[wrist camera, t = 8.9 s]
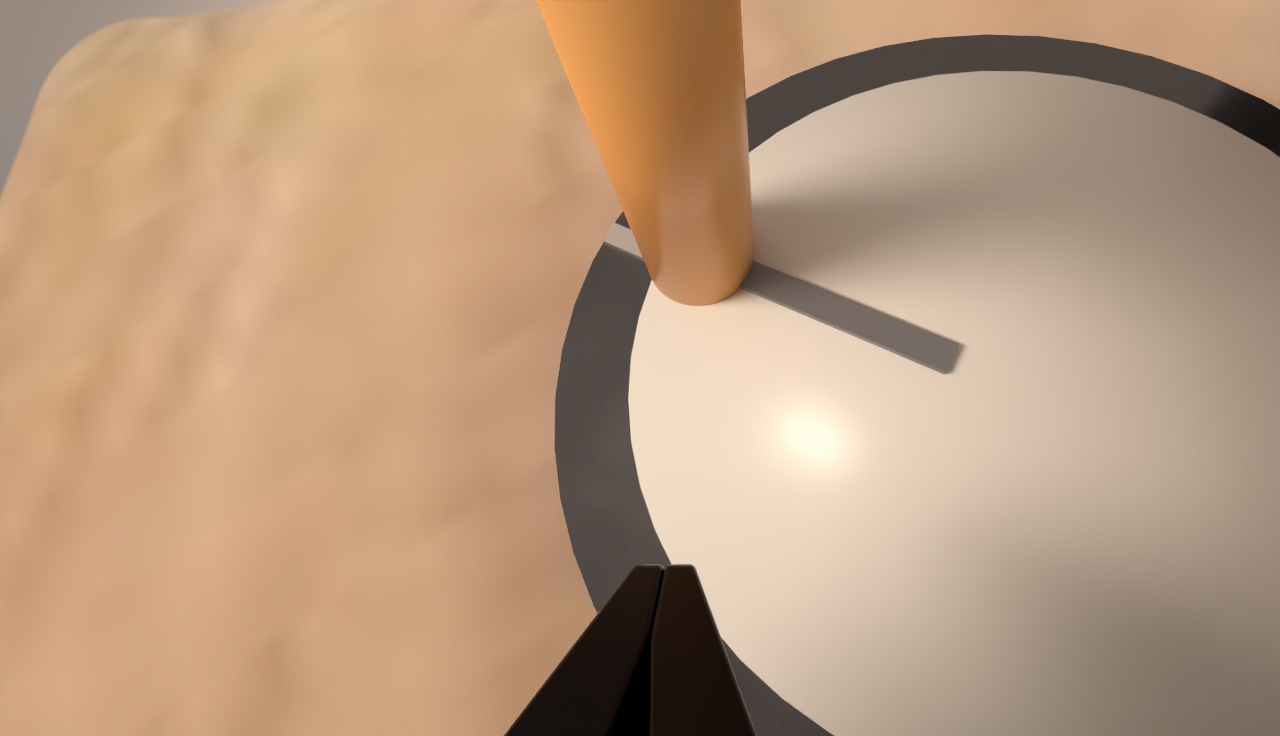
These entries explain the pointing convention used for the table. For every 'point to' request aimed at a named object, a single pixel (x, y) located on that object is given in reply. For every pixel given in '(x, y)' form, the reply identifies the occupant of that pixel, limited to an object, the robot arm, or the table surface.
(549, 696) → the robot arm
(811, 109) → the dial plate
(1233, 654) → the dial
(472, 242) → the table surface
